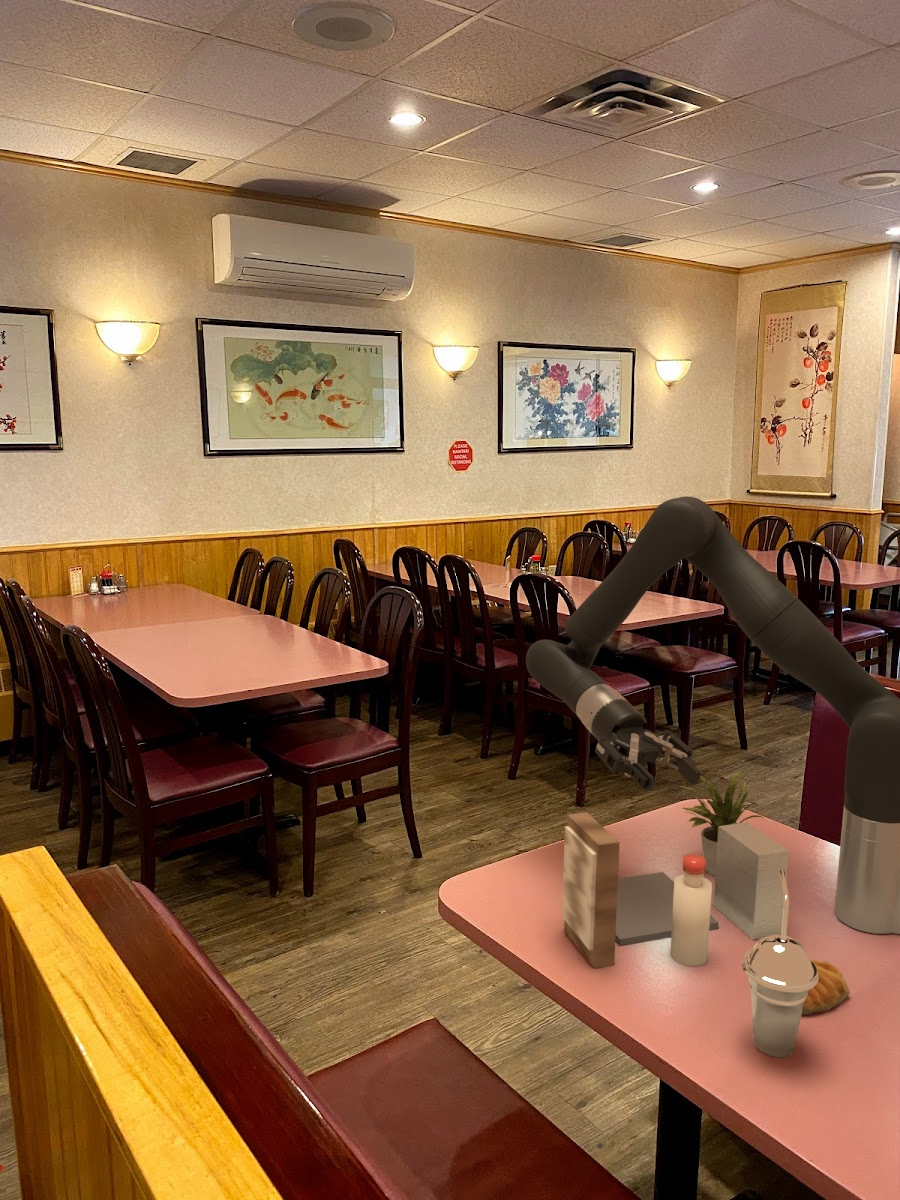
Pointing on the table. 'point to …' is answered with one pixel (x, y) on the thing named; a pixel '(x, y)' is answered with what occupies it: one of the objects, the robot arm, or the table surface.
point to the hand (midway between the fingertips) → (674, 782)
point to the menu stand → (590, 888)
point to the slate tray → (646, 908)
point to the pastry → (826, 989)
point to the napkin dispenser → (749, 879)
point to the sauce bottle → (691, 913)
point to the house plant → (717, 817)
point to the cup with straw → (778, 986)
